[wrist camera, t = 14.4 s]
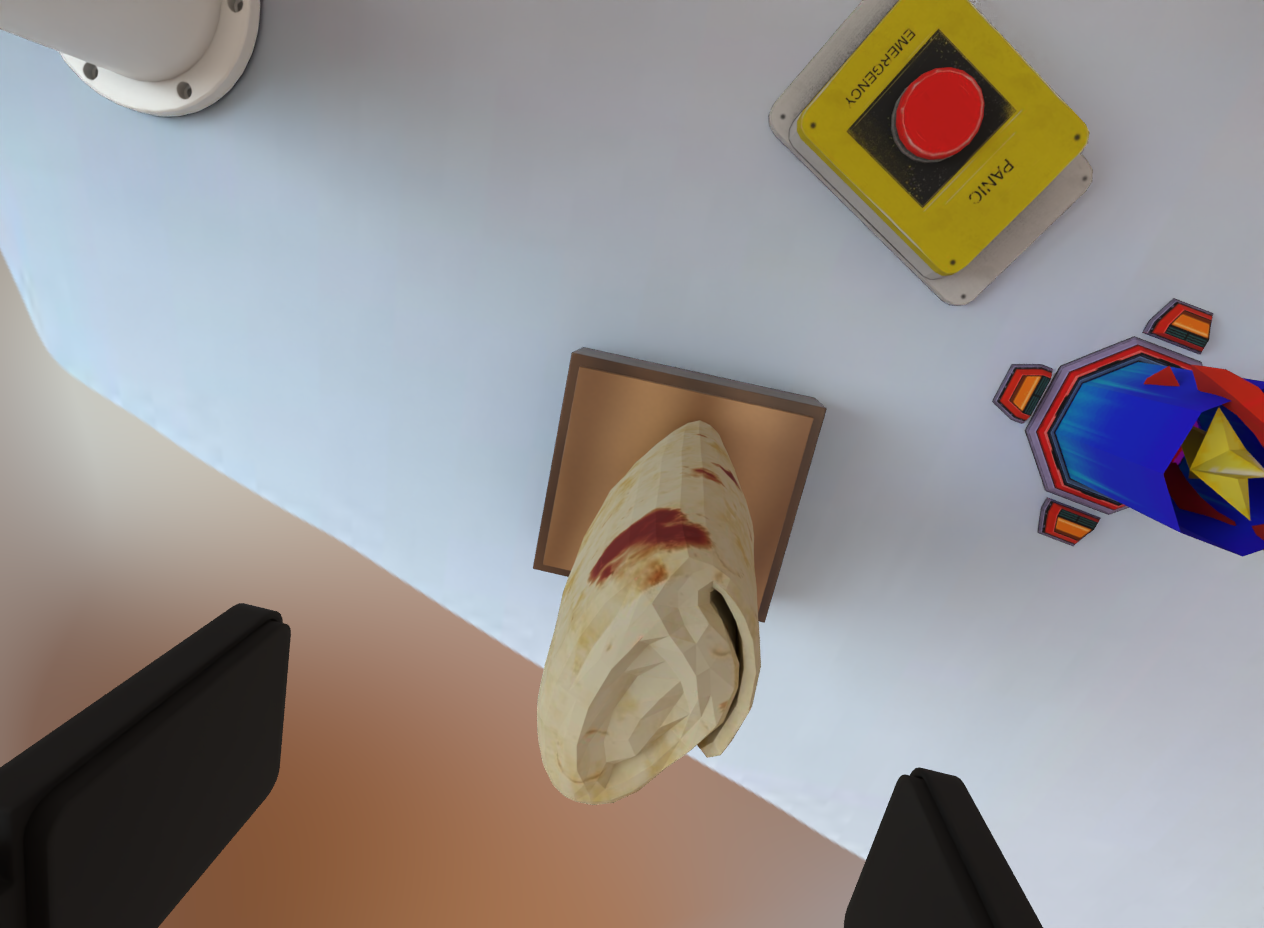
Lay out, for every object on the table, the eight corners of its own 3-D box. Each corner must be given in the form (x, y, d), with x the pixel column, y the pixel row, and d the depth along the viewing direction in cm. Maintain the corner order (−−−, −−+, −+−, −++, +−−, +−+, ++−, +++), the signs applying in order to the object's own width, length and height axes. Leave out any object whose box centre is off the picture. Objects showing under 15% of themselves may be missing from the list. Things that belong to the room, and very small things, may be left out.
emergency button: (921, -83, 29) (1150, 161, 30) (893, -35, 33) (1094, 178, 34) (768, 97, 31) (988, 316, 33) (760, 120, 35) (954, 313, 37)
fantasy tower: (983, 375, 37) (1111, 413, 26) (1205, 285, 35) (1454, 281, 24) (1045, 555, 40) (1189, 663, 28) (1258, 481, 37) (1509, 565, 26)
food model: (658, 389, 35) (612, 504, 16) (768, 447, 36) (851, 629, 16) (579, 538, 38) (457, 792, 19) (681, 592, 38) (666, 896, 19)
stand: (546, 546, 43) (530, 571, 39) (582, 347, 39) (570, 352, 35) (759, 595, 42) (765, 626, 38) (815, 398, 39) (828, 409, 35)
